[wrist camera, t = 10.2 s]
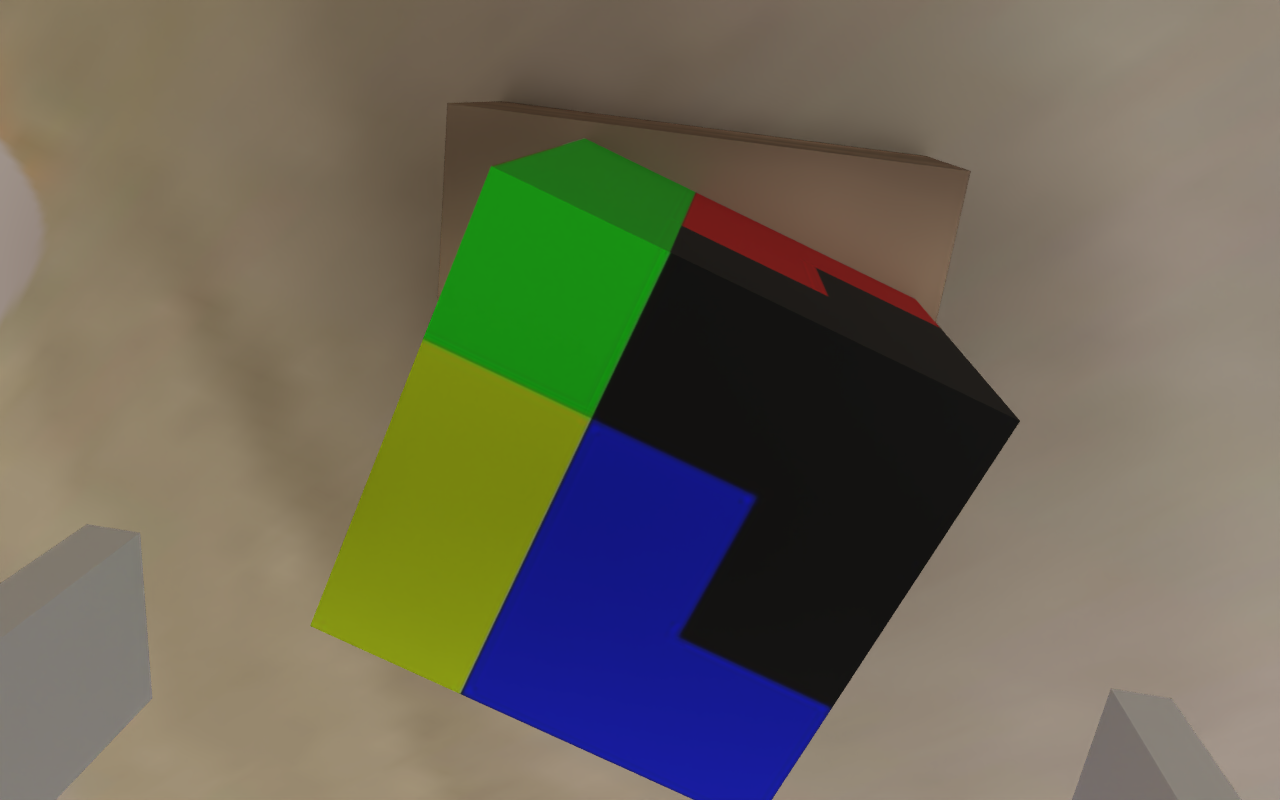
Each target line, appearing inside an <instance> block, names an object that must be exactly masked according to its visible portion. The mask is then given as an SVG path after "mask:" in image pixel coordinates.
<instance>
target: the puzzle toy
mask: <svg viewBox="0 0 1280 800" xmlns="http://www.w3.org/2000/svg"><path fill="white" fill-rule="evenodd" d="M1019 422H1020V420H1019V419H1018V418H1017V417H1016V416H1015V415H1014V413H1013V412H1012V411H1011V410H1010V409H1009V408H1008V406H1007V405H1006V404H1005V403H1004V402H1003V401H1002V399H1001V398H1000V397H999V396H998V395H997V394H996V392H995V391H994V390H993V389H992V388H991V387H990V385H989V384H988V383H987V382H986V381H985V380H984V378H983V377H982V376H981V375H980V374H979V373H978V371H977V370H976V369H975V368H974V367H973V366H972V364H971V363H970V362H969V361H968V360H967V359H966V357H965V356H964V355H963V354H962V353H961V352H960V350H959V349H958V348H957V347H956V346H955V345H954V343H953V342H952V341H951V340H950V339H949V338H948V336H947V335H946V334H945V333H944V332H943V331H942V329H941V328H940V327H939V326H938V325H937V324H936V322H935V321H934V320H933V319H932V318H931V317H930V315H929V314H928V313H927V312H926V311H925V310H924V308H923V307H922V306H921V305H920V304H919V303H918V301H917V300H916V299H914V298H912V297H910V296H908V295H906V294H904V293H902V292H900V291H898V290H896V289H894V288H892V287H890V286H888V285H886V284H884V283H881V282H879V281H877V280H875V279H873V278H871V277H869V276H867V275H865V274H863V273H861V272H859V271H857V270H855V269H853V268H851V267H849V266H847V265H844V264H842V263H840V262H838V261H836V260H834V259H832V258H830V257H828V256H826V255H824V254H822V253H820V252H818V251H816V250H814V249H812V248H809V247H807V246H805V245H803V244H801V243H799V242H797V241H795V240H793V239H791V238H789V237H787V236H785V235H783V234H781V233H779V232H777V231H775V230H772V229H770V228H768V227H766V226H764V225H762V224H760V223H758V222H756V221H754V220H752V219H750V218H748V217H746V216H744V215H742V214H740V213H738V212H735V211H733V210H731V209H729V208H727V207H725V206H723V205H721V204H719V203H717V202H715V201H713V200H711V199H709V198H707V197H705V196H703V195H700V194H698V193H696V192H694V191H692V190H690V189H688V188H686V187H684V186H682V185H680V184H678V183H676V182H674V181H672V180H670V179H668V178H666V177H663V176H661V175H659V174H657V173H655V172H653V171H651V170H649V169H647V168H645V167H643V166H641V165H639V164H637V163H635V162H633V161H631V160H628V159H626V158H624V157H622V156H620V155H618V154H616V153H614V152H612V151H610V150H608V149H606V148H604V147H602V146H600V145H598V144H596V143H594V142H591V141H589V140H587V139H585V138H584V139H580V140H577V141H574V142H570V143H567V144H563V145H560V146H557V147H553V148H550V149H547V150H543V151H540V152H536V153H533V154H530V155H526V156H523V157H520V158H516V159H513V160H510V161H506V162H503V163H499V164H496V165H493V166H491V168H490V170H489V173H488V175H487V178H486V180H485V183H484V185H483V188H482V190H481V193H480V196H479V198H478V201H477V203H476V206H475V208H474V211H473V213H472V216H471V218H470V221H469V224H468V226H467V229H466V231H465V234H464V236H463V239H462V241H461V244H460V246H459V249H458V251H457V254H456V257H455V259H454V262H453V264H452V267H451V269H450V272H449V274H448V277H447V279H446V282H445V285H444V287H443V290H442V292H441V295H440V297H439V300H438V302H437V305H436V307H435V310H434V313H433V315H432V318H431V320H430V323H429V325H428V328H427V330H426V333H425V335H424V338H423V340H422V343H421V346H420V348H419V351H418V353H417V356H416V358H415V361H414V363H413V366H412V368H411V371H410V374H409V376H408V379H407V381H406V384H405V386H404V389H403V391H402V394H401V396H400V399H399V402H398V404H397V407H396V409H395V412H394V414H393V417H392V419H391V422H390V424H389V427H388V429H387V432H386V435H385V437H384V440H383V442H382V445H381V447H380V450H379V452H378V455H377V457H376V460H375V463H374V465H373V468H372V470H371V473H370V475H369V478H368V480H367V483H366V485H365V488H364V490H363V493H362V496H361V498H360V501H359V503H358V506H357V508H356V511H355V513H354V516H353V518H352V521H351V524H350V526H349V529H348V531H347V534H346V536H345V539H344V541H343V544H342V546H341V549H340V552H339V554H338V557H337V559H336V562H335V564H334V567H333V569H332V572H331V574H330V577H329V579H328V582H327V585H326V587H325V590H324V592H323V595H322V597H321V600H320V602H319V605H318V607H317V610H316V613H315V615H314V618H313V620H312V623H311V625H310V626H311V627H314V628H316V629H318V630H320V631H322V632H325V633H327V634H329V635H331V636H334V637H336V638H338V639H340V640H342V641H345V642H347V643H349V644H351V645H353V646H356V647H358V648H360V649H362V650H364V651H367V652H369V653H371V654H373V655H375V656H378V657H380V658H382V659H384V660H387V661H389V662H391V663H393V664H395V665H398V666H400V667H402V668H404V669H406V670H409V671H411V672H413V673H415V674H417V675H420V676H422V677H424V678H426V679H428V680H431V681H433V682H435V683H437V684H440V685H442V686H444V687H446V688H448V689H451V690H453V691H455V692H457V693H459V694H462V695H464V696H466V697H468V698H470V699H473V700H475V701H477V702H479V703H481V704H484V705H486V706H488V707H490V708H493V709H495V710H497V711H499V712H501V713H504V714H506V715H508V716H510V717H512V718H515V719H517V720H519V721H521V722H523V723H526V724H528V725H530V726H532V727H534V728H537V729H539V730H541V731H543V732H546V733H548V734H550V735H552V736H554V737H557V738H559V739H561V740H563V741H565V742H568V743H570V744H572V745H574V746H576V747H579V748H581V749H583V750H585V751H587V752H590V753H592V754H594V755H596V756H599V757H601V758H603V759H605V760H607V761H610V762H612V763H614V764H616V765H618V766H621V767H623V768H625V769H627V770H629V771H632V772H634V773H636V774H638V775H640V776H643V777H645V778H647V779H649V780H652V781H654V782H656V783H658V784H660V785H663V786H665V787H667V788H669V789H671V790H674V791H676V792H678V793H680V794H682V795H685V796H687V797H689V798H691V799H693V800H772V799H773V797H774V796H775V794H776V792H777V791H778V789H779V788H780V786H781V785H782V783H783V782H784V780H785V779H786V777H787V776H788V774H789V773H790V771H791V770H792V768H793V767H794V765H795V763H796V762H797V760H798V759H799V757H800V756H801V754H802V753H803V751H804V750H805V748H806V747H807V745H808V744H809V742H810V741H811V739H812V738H813V736H814V734H815V733H816V731H817V730H818V728H819V727H820V725H821V724H822V722H823V721H824V719H825V718H826V716H827V715H828V713H829V712H830V710H831V709H832V707H833V705H834V704H835V702H836V701H837V699H838V698H839V696H840V695H841V693H842V692H843V690H844V689H845V687H846V686H847V684H848V683H849V681H850V680H851V678H852V676H853V675H854V673H855V672H856V670H857V669H858V667H859V666H860V664H861V663H862V661H863V660H864V658H865V657H866V655H867V654H868V652H869V651H870V649H871V648H872V646H873V644H874V643H875V641H876V640H877V638H878V637H879V635H880V634H881V632H882V631H883V629H884V628H885V626H886V625H887V623H888V622H889V620H890V619H891V617H892V615H893V614H894V612H895V611H896V609H897V608H898V606H899V605H900V603H901V602H902V600H903V599H904V597H905V596H906V594H907V593H908V591H909V590H910V588H911V586H912V585H913V583H914V582H915V580H916V579H917V577H918V576H919V574H920V573H921V571H922V570H923V568H924V567H925V565H926V564H927V562H928V561H929V559H930V557H931V556H932V554H933V553H934V551H935V550H936V548H937V547H938V545H939V544H940V542H941V541H942V539H943V538H944V536H945V535H946V533H947V532H948V530H949V528H950V527H951V525H952V524H953V522H954V521H955V519H956V518H957V516H958V515H959V513H960V512H961V510H962V509H963V507H964V506H965V504H966V503H967V501H968V500H969V498H970V496H971V495H972V493H973V492H974V490H975V489H976V487H977V486H978V484H979V483H980V481H981V480H982V478H983V477H984V475H985V474H986V472H987V471H988V469H989V467H990V466H991V464H992V463H993V461H994V460H995V458H996V457H997V455H998V454H999V452H1000V451H1001V449H1002V448H1003V446H1004V445H1005V443H1006V442H1007V440H1008V438H1009V437H1010V435H1011V434H1012V432H1013V431H1014V429H1015V428H1016V426H1017V425H1018V423H1019Z"/></svg>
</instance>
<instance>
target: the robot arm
mask: <svg viewBox="0 0 1280 800" xmlns="http://www.w3.org/2000/svg"><path fill="white" fill-rule="evenodd" d="M151 699H152V689H151V676H150V662H149V649H148V635H147V621H146V608H145V594H144V581H143V567H142V553H141V540H140V533H139V532H132V531H126V530H120V529H114V528H107V527H101V526H95V525H89V524H86V525H85V526H84V527H82V528H81V529H79V530H78V531H76V532H75V533H73V534H72V535H70V536H69V537H67V538H66V539H65V540H63V541H62V542H60V543H59V544H57V545H56V546H54V547H53V548H51V549H50V550H48V551H47V552H46V553H44V554H43V555H41V556H40V557H38V558H37V559H35V560H34V561H32V562H31V563H29V564H28V565H26V566H25V567H24V568H22V569H21V570H19V571H18V572H16V573H15V574H13V575H12V576H10V577H9V578H7V579H6V580H5V581H3V582H2V583H0V800H56V799H57V798H58V797H59V796H60V795H61V794H62V793H63V792H64V791H65V789H66V788H67V787H68V786H69V785H70V784H71V783H72V782H73V781H74V780H75V779H76V778H77V777H78V776H79V775H80V774H81V773H82V772H83V770H84V769H85V768H86V767H87V766H88V765H89V764H90V763H91V762H92V761H93V760H94V759H95V758H96V757H97V756H98V755H99V754H100V753H101V752H102V750H103V749H104V748H105V747H106V746H107V745H108V744H109V743H110V742H111V741H112V740H113V739H114V738H115V737H116V736H117V735H118V734H119V733H120V731H121V730H122V729H123V728H124V727H125V726H126V725H127V724H128V723H129V722H130V721H131V720H132V719H133V718H134V717H135V716H136V715H137V714H138V713H139V711H140V710H141V709H142V708H143V707H144V706H145V705H146V704H147V703H148V702H149V701H150V700H151ZM1072 800H1241V798H1240V797H1239V795H1238V794H1237V792H1236V791H1235V790H1234V788H1233V787H1232V785H1231V784H1230V782H1229V781H1228V779H1227V778H1226V777H1225V775H1224V774H1223V772H1222V771H1221V769H1220V768H1219V766H1218V765H1217V763H1216V762H1215V761H1214V759H1213V758H1212V756H1211V755H1210V753H1209V752H1208V750H1207V749H1206V748H1205V746H1204V745H1203V743H1202V742H1201V740H1200V739H1199V737H1198V736H1197V734H1196V733H1195V732H1194V730H1193V729H1192V727H1191V726H1190V724H1189V723H1188V721H1187V720H1186V719H1185V717H1184V716H1183V714H1182V713H1181V711H1180V710H1179V708H1178V707H1177V706H1176V704H1175V703H1174V701H1173V700H1172V698H1167V697H1161V696H1154V695H1148V694H1142V693H1136V692H1129V691H1123V690H1117V689H1111V690H1110V693H1109V696H1108V699H1107V701H1106V704H1105V707H1104V710H1103V713H1102V716H1101V719H1100V722H1099V724H1098V727H1097V730H1096V733H1095V736H1094V739H1093V742H1092V744H1091V747H1090V750H1089V753H1088V756H1087V759H1086V762H1085V764H1084V767H1083V770H1082V773H1081V776H1080V779H1079V782H1078V785H1077V787H1076V790H1075V793H1074V796H1073V799H1072Z"/></svg>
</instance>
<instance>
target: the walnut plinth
mask: <svg viewBox="0 0 1280 800" xmlns="http://www.w3.org/2000/svg"><path fill="white" fill-rule="evenodd" d="M584 138H585V139H587V140H589V141H591V142H594V143H596V144H598V145H600V146H602V147H604V148H606V149H608V150H610V151H612V152H614V153H616V154H618V155H620V156H622V157H624V158H626V159H628V160H631V161H633V162H635V163H637V164H639V165H641V166H643V167H645V168H647V169H649V170H651V171H653V172H655V173H657V174H659V175H661V176H663V177H666V178H668V179H670V180H672V181H674V182H676V183H678V184H680V185H682V186H684V187H686V188H688V189H690V190H692V191H694V192H696V193H698V194H700V195H703V196H705V197H707V198H709V199H711V200H713V201H715V202H717V203H719V204H721V205H723V206H725V207H727V208H729V209H731V210H733V211H735V212H738V213H740V214H742V215H744V216H746V217H748V218H750V219H752V220H754V221H756V222H758V223H760V224H762V225H764V226H766V227H768V228H770V229H772V230H775V231H777V232H779V233H781V234H783V235H785V236H787V237H789V238H791V239H793V240H795V241H797V242H799V243H801V244H803V245H805V246H807V247H809V248H812V249H814V250H816V251H818V252H820V253H822V254H824V255H826V256H828V257H830V258H832V259H834V260H836V261H838V262H840V263H842V264H844V265H847V266H849V267H851V268H853V269H855V270H857V271H859V272H861V273H863V274H865V275H867V276H869V277H871V278H873V279H875V280H877V281H879V282H881V283H884V284H886V285H888V286H890V287H892V288H894V289H896V290H898V291H900V292H902V293H904V294H906V295H908V296H910V297H912V298H914V299H916V300H917V301H918V303H919V304H920V305H921V306H922V307H923V308H924V310H925V311H926V312H927V313H928V314H929V315H930V317H931V318H932V319H933V320H934V321H935V322H936V320H937V315H938V311H939V307H940V302H941V298H942V294H943V289H944V285H945V281H946V276H947V272H948V267H949V263H950V259H951V254H952V250H953V246H954V241H955V237H956V233H957V228H958V224H959V220H960V215H961V211H962V207H963V202H964V198H965V194H966V189H967V185H968V180H969V176H970V172H971V171H969V170H966V169H963V168H960V167H957V166H954V165H951V164H948V163H945V162H942V161H939V160H936V159H933V158H930V157H927V156H920V155H912V154H905V153H897V152H889V151H881V150H874V149H866V148H858V147H850V146H843V145H835V144H827V143H819V142H812V141H804V140H796V139H788V138H781V137H773V136H765V135H757V134H750V133H742V132H734V131H726V130H719V129H711V128H703V127H695V126H688V125H680V124H672V123H665V122H657V121H649V120H641V119H634V118H626V117H618V116H610V115H603V114H595V113H587V112H579V111H572V110H564V109H556V108H548V107H541V106H533V105H525V104H517V103H510V102H502V101H498V102H471V103H447V121H446V141H445V162H444V182H443V202H442V222H441V242H440V262H439V282H438V300H439V297H440V295H441V292H442V290H443V287H444V285H445V282H446V279H447V277H448V274H449V272H450V269H451V267H452V264H453V262H454V259H455V257H456V254H457V251H458V249H459V246H460V244H461V241H462V239H463V236H464V234H465V231H466V229H467V226H468V224H469V221H470V218H471V216H472V213H473V211H474V208H475V206H476V203H477V201H478V198H479V196H480V193H481V190H482V188H483V185H484V183H485V180H486V178H487V175H488V173H489V170H490V168H491V166H493V165H496V164H499V163H503V162H506V161H510V160H513V159H516V158H520V157H523V156H526V155H530V154H533V153H536V152H540V151H543V150H547V149H550V148H553V147H557V146H560V145H563V144H567V143H570V142H574V141H577V140H580V139H584Z"/></svg>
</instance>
